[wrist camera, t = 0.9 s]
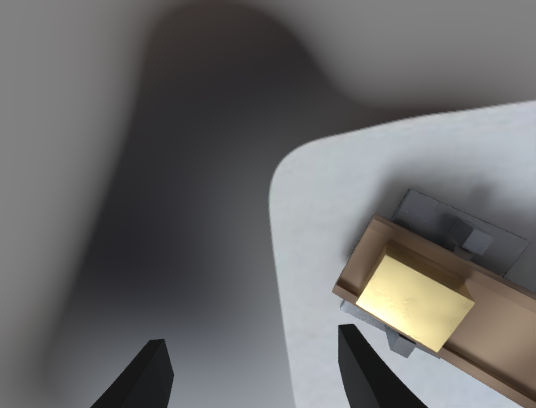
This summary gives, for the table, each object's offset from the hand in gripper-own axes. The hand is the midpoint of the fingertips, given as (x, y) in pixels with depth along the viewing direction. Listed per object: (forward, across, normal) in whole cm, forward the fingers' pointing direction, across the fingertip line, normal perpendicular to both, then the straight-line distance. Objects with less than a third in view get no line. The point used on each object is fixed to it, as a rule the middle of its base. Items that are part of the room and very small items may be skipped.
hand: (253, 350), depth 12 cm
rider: (+10, -11, +5) cm, 16 cm away
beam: (+10, -16, +7) cm, 20 cm away
